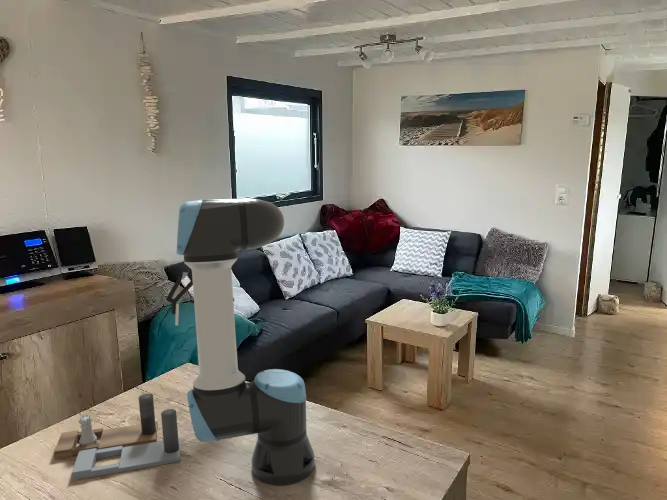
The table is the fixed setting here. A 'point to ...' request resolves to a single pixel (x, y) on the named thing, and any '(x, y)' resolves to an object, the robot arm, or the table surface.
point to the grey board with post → (133, 453)
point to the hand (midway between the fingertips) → (199, 325)
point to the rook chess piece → (87, 431)
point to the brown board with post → (114, 433)
